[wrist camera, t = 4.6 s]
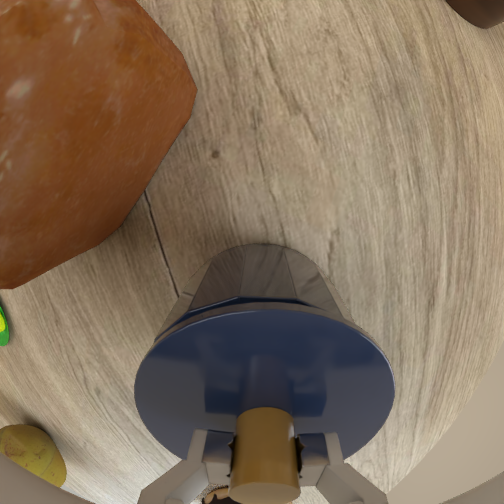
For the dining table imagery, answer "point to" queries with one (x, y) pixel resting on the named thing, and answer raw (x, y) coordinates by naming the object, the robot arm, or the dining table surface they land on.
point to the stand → (480, 11)
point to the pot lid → (265, 389)
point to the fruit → (33, 452)
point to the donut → (220, 498)
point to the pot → (256, 283)
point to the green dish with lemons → (3, 329)
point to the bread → (80, 124)
